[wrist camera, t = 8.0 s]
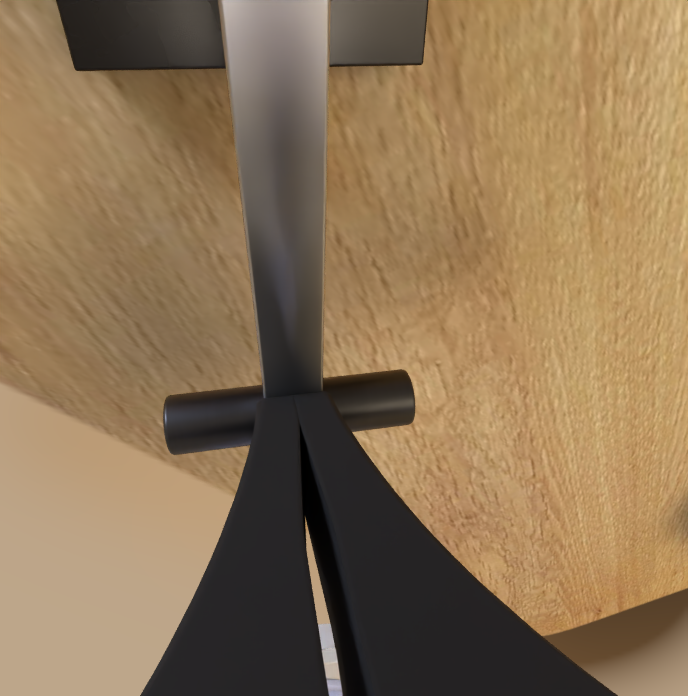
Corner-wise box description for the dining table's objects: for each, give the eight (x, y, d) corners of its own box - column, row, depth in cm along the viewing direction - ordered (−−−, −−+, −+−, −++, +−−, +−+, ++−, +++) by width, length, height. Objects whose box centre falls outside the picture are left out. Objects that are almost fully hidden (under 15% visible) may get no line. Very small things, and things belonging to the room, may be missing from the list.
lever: (391, 372, 12) (419, 459, 11) (177, 396, 12) (172, 493, 10) (582, -748, 4) (892, -1194, 2) (-254, -958, 3) (-878, -1967, 1)
